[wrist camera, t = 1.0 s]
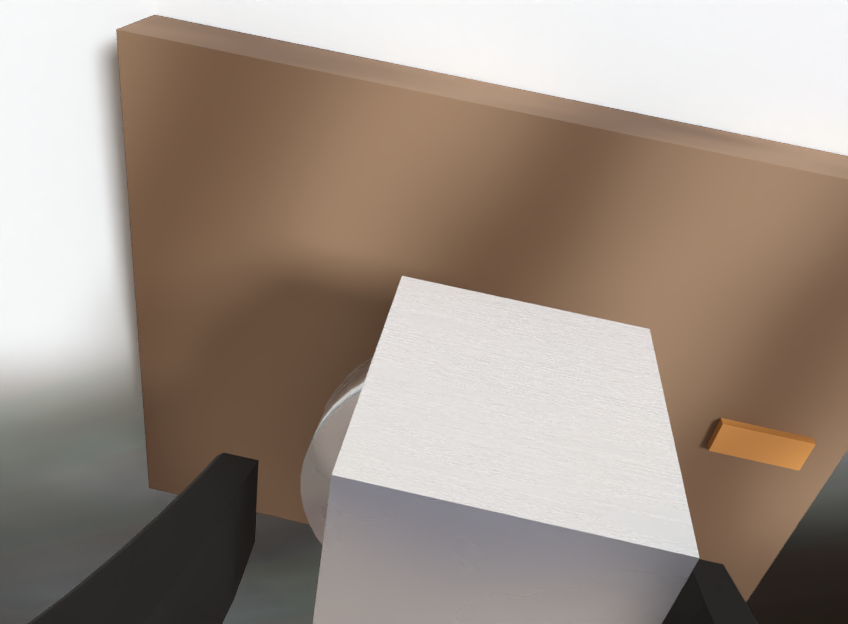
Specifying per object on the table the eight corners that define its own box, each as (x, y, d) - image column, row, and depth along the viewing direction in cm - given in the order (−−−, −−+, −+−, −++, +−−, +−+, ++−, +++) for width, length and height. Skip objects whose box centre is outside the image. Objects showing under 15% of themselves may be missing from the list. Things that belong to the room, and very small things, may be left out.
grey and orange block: (716, 303, 11) (827, 590, 7) (560, 646, 16) (564, 938, 12) (341, 223, 11) (210, 451, 7) (301, 586, 16) (211, 850, 12)
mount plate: (963, 179, 14) (1098, 282, 10) (721, 574, 20) (756, 716, 17) (154, 14, 14) (33, 61, 11) (173, 449, 21) (101, 563, 17)
